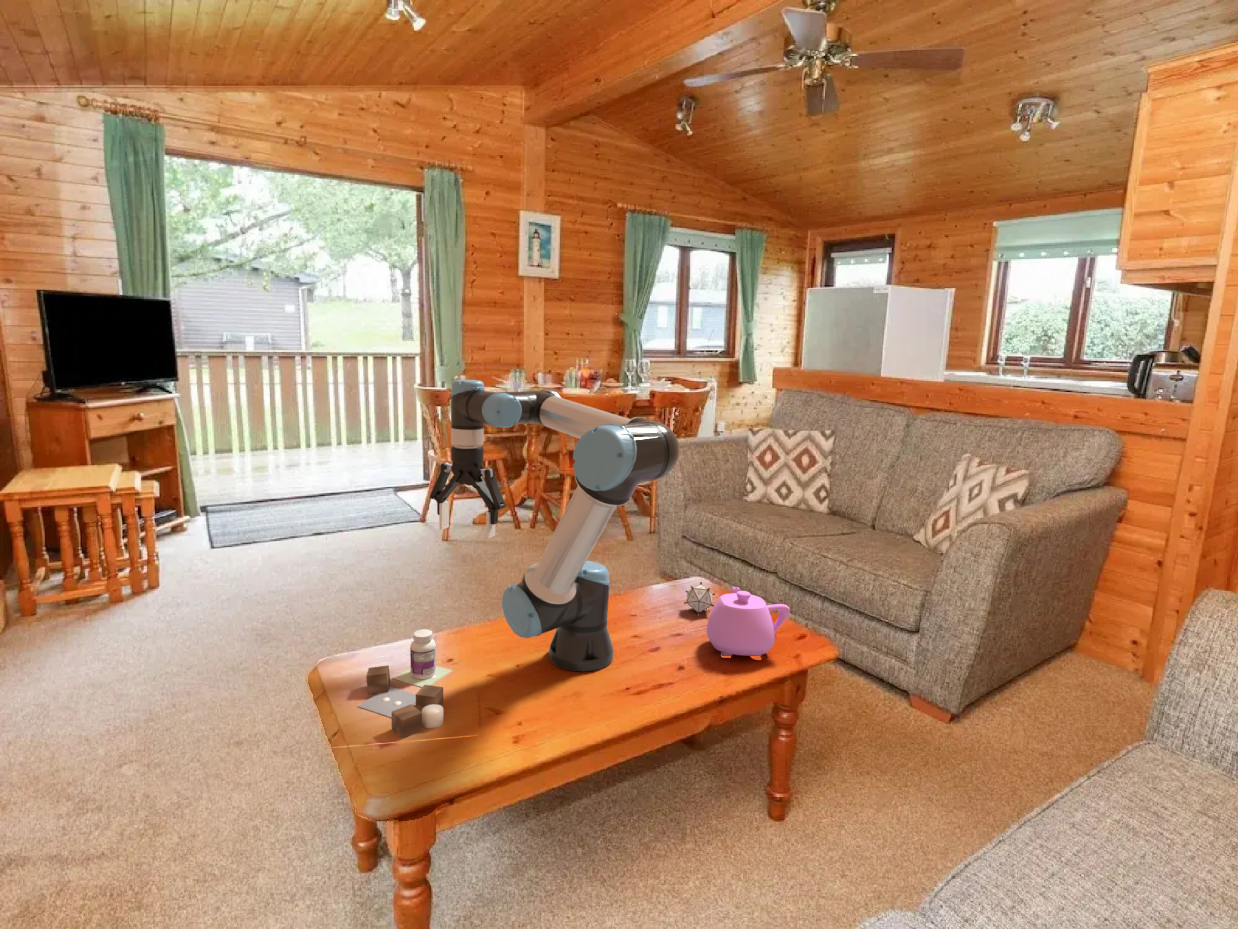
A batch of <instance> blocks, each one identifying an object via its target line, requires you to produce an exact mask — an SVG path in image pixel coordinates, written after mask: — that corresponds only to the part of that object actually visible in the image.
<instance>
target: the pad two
mask: <svg viewBox="0 0 1238 929" xmlns="http://www.w3.org/2000/svg"><path fill="white" fill-rule="evenodd" d="M416 694H417V693H413V692H409V691H406V690H404V689H400V688H396V687H393V686H391V685H390V687H389V692H382V693H375V694H374V695H373V696H372V697H370V698H369V699H367V700H365V701H364V702H362V703H360V704H359V705H357V708H360V709H363V710H366V711H369V712H372V713H375V714H377V715H381V716H384V717H386V718H387V717H388V718H390V719H392V711H395V710H397V709H400V708H402V707H405V706H408V705H410V704H411V705H413V706H414V705H416Z"/></svg>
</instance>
